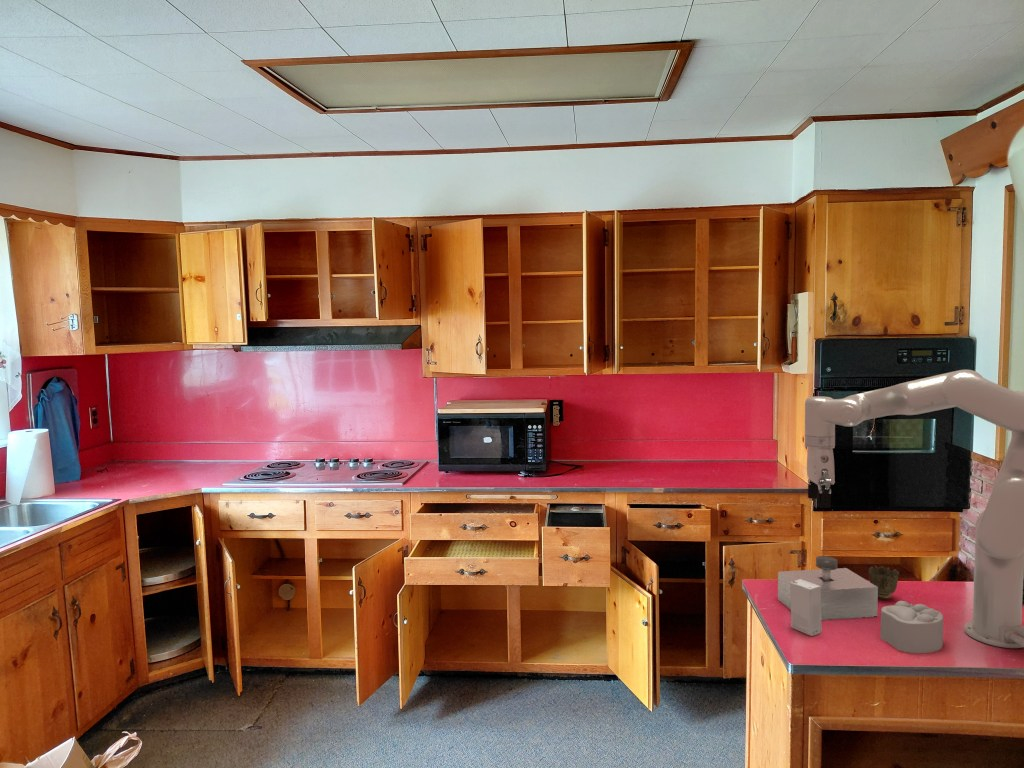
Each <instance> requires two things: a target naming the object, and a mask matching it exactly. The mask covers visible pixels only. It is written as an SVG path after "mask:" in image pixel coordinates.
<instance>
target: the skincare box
mask: <svg viewBox="0 0 1024 768" xmlns="http://www.w3.org/2000/svg"><path fill="white" fill-rule="evenodd" d="M790 591H791V610H790V617H791V618H790V624H791V628H792V629H793V630H796V631H799V632H801V633H802V634H805V635H807V636H810V637H814V636H817V635H819V634H821V633H822V631H823V630H822V620H821V586H818V585H816V584H813V583H810V582H807V581H804V580H802V579H799V580H796V581H793V582H791V583H790Z"/></svg>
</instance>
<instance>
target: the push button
mask: <svg viewBox="0 0 1024 768" xmlns="http://www.w3.org/2000/svg"><path fill="white" fill-rule="evenodd" d="M815 567H817V568H819V569H822V580H823V581H824V582H825V581H830V573H831V570H835V569H837V568H838V559H837V558H835V557H832V556H827V555H820V556H816V557H815Z"/></svg>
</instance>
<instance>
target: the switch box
mask: <svg viewBox="0 0 1024 768" xmlns="http://www.w3.org/2000/svg"><path fill="white" fill-rule="evenodd" d="M799 579H802V580H804V581H807V582H810V583H813V584H816V585H818V586H821V621H831V620H830V619H832V620H845V619H847V620H848V619H863V617H865V618H875V617H874V616H877V617H878V605H879V604H878V602H879V601H878V599H879V598H878V587H877V586H875V585H874V584H872V583H870V580H867V579H866V578H864V577H862V576H860V575H858V574H857V573H855V572H853V571H852V570H850V569H849V568H847V567H843V568H838V567H837V569H835V570H831V573H830V581H825V582H824V581H823V580H822V569H821V568H819V569H805V570H804V569H803V570H801V569H800V570H785V571H783V570H782V571H781V570H780V571H777V600H778V601H779V602H780V601H781V602H780V603H782V604H783V605H784V606H785V605H786V606H787V609H788V610H790V611H791V591H790V583H791V582H793V581H796V580H799ZM786 606H785V607H786Z"/></svg>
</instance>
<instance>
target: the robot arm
mask: <svg viewBox="0 0 1024 768" xmlns="http://www.w3.org/2000/svg"><path fill="white" fill-rule="evenodd" d="M956 407H957V408H958V409H961V410H962V411H964V412H967V413H969V414H971V415H972V416H975V417H978V418H980V419H982V420H984V421H987V422H989V423H991V424H993V425H995V426H997V427H999V428H1002V429H1004V430H1007V431H1009V432H1011V439H1010V442H1009V445H1008V447H1007V450H1006V454H1005V456H1004V459H1003V461H1002V463H1001V466H1000V467H999V471H998V472H997V475H995V477H994V479H993V481H992V487H991V493H990V495H989V498H988V501H987V504H986V506H985V508H984V510H983V511H981V513H980V514H979V516H978V517H977V518H976V521H975V527H974V528H975V529H974V530H975V531H974V532H975V533H974V535H975V541H974V542H975V543H974V545H975V547H974V548H975V549H974V571H973V596H972V600H973V601H972V602H973V603H972V620H971V621H968V622H966V623H965V624H964V632H965V633H966V634H967V635H968V636H970V637H971V638H973V639H974V640H976V641H979V642H981V643H984V644H987V645H991V646H994V647H998V648H1005V649H1022V648H1024V625H1022V623H1023V622H1022V618H1023V597H1024V596H1023V595H1024V591H1023V590H1024V391H1020V390H1019V391H1018V390H1017V391H1015V390H1012V389H1009V388H1008V387H1005V386H1001V385H1000V384H998V383H996V382H993V381H991V380H989V379H987V378H985V377H983V376H982V374H980V373H979V372H978V371H976V370H972V369H959V370H955V371H950V372H945V373H941V374H936V375H932V376H927V377H924V378H919V379H915V380H910V381H906V382H902V383H898V384H895V385H891V386H888V387H884V388H878V389H874V390H869V391H864V392H860V393H859V392H858V393H855V394H851V395H848V396H846V397H843V398H835V399H834V398H832V397H830V396H819V395H818V396H817V395H816V396H809V397H807V398H806V399H805V402H804V447H805V448H807V457H806V474H807V475H806V476H807V478H808V479H807V498H808V499H816V500H817V507H818V508H819V509H820V508H821V509H830V508H831V506H832V486H833V485H834V484H835V483H836V481H835V477H836V476H835V458H834V450H833V449H835V446H836V425H838V426H843V427H855V426H858V425H859V424H861V423H862V422H864V421H868V420H871V419H872V420H873V419H877V418H883V417H886V416H896V415H903V416H904V415H905V416H914V415H921V414H926V413H931V412H935V411H941V410H945V409H946V410H947V409H951V408H956ZM831 485H832V486H831Z"/></svg>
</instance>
